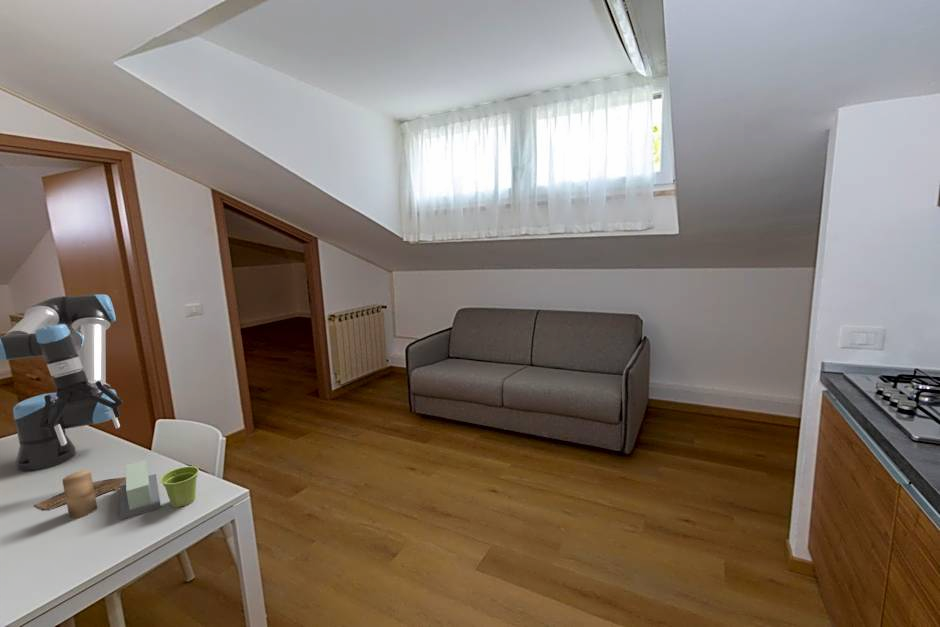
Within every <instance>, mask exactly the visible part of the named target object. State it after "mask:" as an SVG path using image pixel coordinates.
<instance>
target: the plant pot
mask: <svg viewBox="0 0 940 627" xmlns="http://www.w3.org/2000/svg"><path fill="white" fill-rule="evenodd" d="M199 472H200V469H199V468H198V467H197V466H193V465H191V466H182V467H178V468H175V469H172V470H170V471H168V472H166V473H165V474H163V475H162V476H161V478H160V483H161V484H162V485H163V487H164V488H165V490H166V494H167V497H168V500H169V503H170V506H171V507H173V508H180V507H182V506H183V507H185V506H187V505H190V504H191V503H193V502H195V500H196V497H197V496H196V494H197V478H198V474H199Z"/></svg>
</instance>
